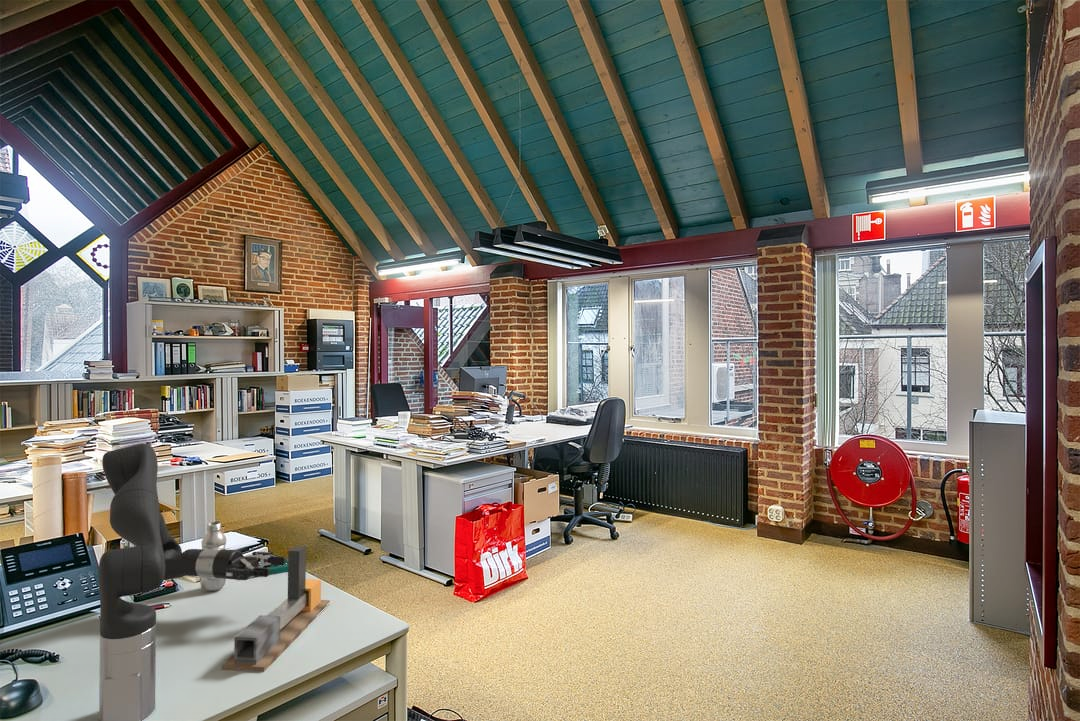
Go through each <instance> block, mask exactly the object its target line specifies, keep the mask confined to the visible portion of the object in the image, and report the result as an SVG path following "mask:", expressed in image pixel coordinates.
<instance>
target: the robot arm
mask: <svg viewBox="0 0 1080 721" xmlns="http://www.w3.org/2000/svg"><path fill="white" fill-rule="evenodd" d="M101 462H102V469H103V474H104V476H105V478H106V480H107V483H108V486H109V487H110V489H111V490H112V492H113V494H114V495H113V497H112V498H111V502H110V507H109V524H110V527H111V529H112V530H113V531H114V532H115V533H116V534H117V535H118V536H119V537H121V539H124V540H125V541H127V542H129V543H130V544H132V545H134V546H128V547H123V548H115V549H110V550H106V551H105V552H104V553H103V554H102V555H101V557H100V559H99V562H98V592H99V606H100V614H99V617H100V621H99V682H98V683H99V684H98V688H99V690H98V691H99V692H98V694H99V697H98V702H99V703H98V704H99V705H98V706H99V708H98V709H99V712H98V713H99V714H98V715H99V717H98V719H99V720H98V721H142V720H144V719H145V718H147V717H148V716H150V715H151V714H152V713H153V712H154V710H155V709H156V675H157V674H156V673H157V672H156V666H157V664H156V663H157V662H156V660H157V658H156V657H157V652H156V651H157V649H156V648H157V644H156V643H157V612H156V609H155V608H154V607H152V606H150V605H146V604H140V603H134V602H130V601H127V600H125V599H122V598H123V597H129V596H134V595H139V594H145V593H149V592H153V591H156V590H157V589H159V588H160V587H161V586H162V584H163V582H164V581H168V580H172V579H173V580H174V579H179V578H182V577H187V576H188V577H200V578H201V577H206V578H220V579H226V580H236V581H247V580H248V577H249V578H250V579H253V578H252V577H254V576H257V577H256V578H260V577H261V578H267V577H269V576H270V575H269V568H263V566H265V565H284V564H285V558H286V557H285V555H283V556H281V555H274V554H275V553H274V552H273V551H272V552H271V551H252V553H251V554H248V555H245V556H244V555H243V553H242V551H241V550H238V549H226V548H225V549H207V550H206V549H202V548H189V549H186V550H184V551H183V550H182V547H181V545H180V544H179V543H178V542H177V540H176V539H175V538H174V536H172V535H171V533H170V532H169V529H168V527H167V524H166V521H165V518H164V515H163V513H162V512H161V511H160V503H159V502H160V501H159V494H158V488H157V485H158V484H157V480H158V479H157V478H158V471H159V470H158V467H159V466H158V465H159V464H158V457H157V453H156V452H155V449H154V448H153V447H152V446H151V445H150V444H148V443H138V444H134V445H133V444H132V445H130V446H129V445H128V446H125V447H121V448H118V449H117V448H116V449H112V450H110V451H109V450H108V451H106V452H105V453H104V454H103V456H102V461H101ZM258 563H260V564H259V565H258ZM240 575H243V576H240Z"/></svg>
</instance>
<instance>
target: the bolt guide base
mask: <svg viewBox="0 0 1080 721" xmlns="http://www.w3.org/2000/svg"><path fill="white" fill-rule="evenodd" d="M329 602H331V601H330V600H328V599H321V602H320V603H319V604H318V605H317V606H316V607H315V608H314V609H313V610H312V611H311V612H310V611H300V612H299V613H298V614H297V615H296V616H295V617H294V618H292V619H291V620H290V621H289V622H288V623H287V624H286V625H285V626H284V627H283V628H282V629H281V630H280V616H268V615H259V616H258V617H256V618H255V619H254V620H253V621H252V622H250V623H249V624H248V625H247V626H246V627H244V628H243V629H242V630H240V632H238V633H237V634H236V635H235V636H234V640H233V641H234V642H233V643H234V647H233V648H234V649H233V650H234V652H233V654H232V655H231V656H230V657H229V658H228V659H226V660H225V661H224V662H223V663H222V664H221V669H220V670H227V671H243V672H247V671H248V672H262V673H264V672H265V671H267V669H269V667H271V665H273V663H274V662H275V661H276V660H277V659H278V658H279V657H280V656H281V655H282V654H283V653H284V652H285V651H286V649H288V647H290V645H291V644H292V643H294V642H295V641H296V640H297V638H298V637H299V636H301V634H302V633H303V632H304V631H305V630H306V629H307V628H309V626H310V625H311V624H312V623H313V622H314V621H315V620H316V619H317V618H318V617H317V615H318V614H319V613H320V612H321V611H322V610H323V609H324V608H325V607H326V606H327V604H328V603H329ZM327 607H328V606H327ZM327 607H326V608H327ZM326 608H325V609H326ZM325 609H324V610H325ZM324 610H323V611H324ZM323 611H322V612H323ZM322 612H321V613H322ZM321 613H320V614H321ZM320 614H319V615H320ZM319 615H318V616H319ZM316 617H317V618H316ZM315 618H316V619H315ZM314 619H315V620H314ZM313 620H314V621H313ZM312 621H313V622H312ZM311 622H312V623H311ZM310 623H311V624H310ZM309 624H310V625H309ZM308 625H309V626H308Z"/></svg>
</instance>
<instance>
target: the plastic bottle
mask: <svg viewBox="0 0 1080 721" xmlns="http://www.w3.org/2000/svg"><path fill="white" fill-rule="evenodd" d="M221 530H222V522H220V521H213V522H208V523H207V524H206V534H205V535H204V536H203V538H202V539H201V549H206V550H207V549H226V544H227V537H226V535H225V534H224V532H222V531H221ZM226 580H227V579H220V578H206V577H200V582H199V583H200V588H201V589H202V590H203V591H204V592H215V591H219V590H221V589H222V588H224V586H225V585H226Z"/></svg>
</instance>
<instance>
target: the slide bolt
mask: <svg viewBox="0 0 1080 721" xmlns="http://www.w3.org/2000/svg"><path fill="white" fill-rule="evenodd" d="M287 552H288V553H287V555H288V556H287V559H288V572H287V599H284V601H283V602H282V603H280V605H278V606H277V607H276V608H274V609H273V610H272V611H271V612H270V613H269V614H268V615H267V616H280V630H281V629H282V628H283V627H284V626H285V625H286V624H287V623H288V622H289V621H290V620H291V619H292V618H294V617H295V616H296V615H297V614H298V613H299V612H300V611H301V610H302V609H303V608H304V607H305V606H306V605H307V604H308V603H309V591H305V584H306V579H307V577H306V576H307V575H306V574H307V573H306V569H307V546H305V545H294V546H293V547H291V548H290V549H288V551H287Z"/></svg>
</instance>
